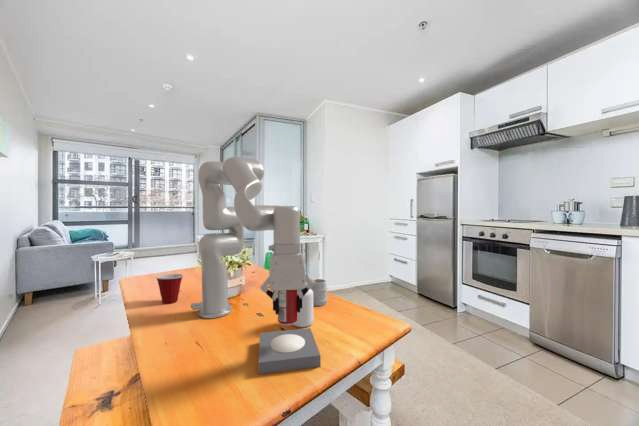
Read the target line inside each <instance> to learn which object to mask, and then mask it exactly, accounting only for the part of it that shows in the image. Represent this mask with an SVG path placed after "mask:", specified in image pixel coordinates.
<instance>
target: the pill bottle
mask: <svg viewBox="0 0 639 426" xmlns="http://www.w3.org/2000/svg"><path fill="white" fill-rule="evenodd" d="M306 285H307V283H306ZM301 290H302V289H301ZM297 294H298V292H297ZM313 324H314V305H313V291H312V290H311V289H310V290H308V292H307V293H306V294H305V295H304V296H303V298H302V308H300V313H298V312H297V321H296V322H295V323H294V324H292V325H293V326H294V327H297V328H307V327H310V326H312V325H313Z"/></svg>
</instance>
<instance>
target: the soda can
mask: <svg viewBox="0 0 639 426" xmlns="http://www.w3.org/2000/svg"><path fill="white" fill-rule="evenodd" d="M277 298H278V315H277V322H278V323H279V324H281V325H283V326H291V325H293V324H294V323H295V322H296V321H297V290H285V291H279V292H278V295H277Z"/></svg>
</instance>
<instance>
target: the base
mask: <svg viewBox="0 0 639 426" xmlns="http://www.w3.org/2000/svg"><path fill="white" fill-rule="evenodd" d="M258 347H259V348H258V375H263V374H262V373H266V374H272V373H271V372H273V373H280V372H279V371H281V372H286V371H285V370H289V371H296V370H304V369H311V368H318V367H321V366H322V365H321V364H322V363H321V362H322V361H321V360H322V359H321V353H320V351H319V348H318V345H317V341H316V339H315V337H314V334H313V331H312V329H311V327H308V328H307V327H305V328H300V329H299V328H298V329H289V330H279V331H267V332H259V346H258Z"/></svg>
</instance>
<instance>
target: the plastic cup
mask: <svg viewBox="0 0 639 426" xmlns="http://www.w3.org/2000/svg"><path fill="white" fill-rule="evenodd" d="M183 277H184V274H181V273H167V274H160V275H157V276H156V277H155V279H156V280H157V284H158V288H159V292H160V293H159V294H160V298H161V302H162V304H164V305H171V304H174V303H177V302H178V301H179V300H178V299H179V294H180V288H181V282H182V279H183Z"/></svg>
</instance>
